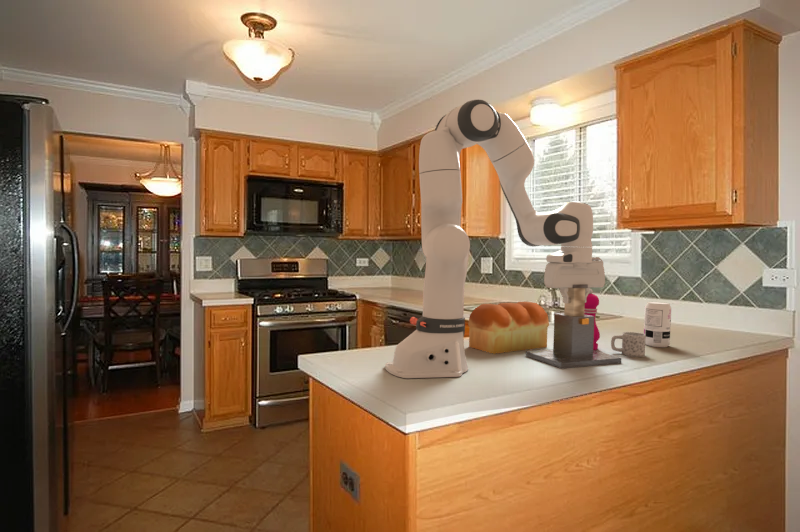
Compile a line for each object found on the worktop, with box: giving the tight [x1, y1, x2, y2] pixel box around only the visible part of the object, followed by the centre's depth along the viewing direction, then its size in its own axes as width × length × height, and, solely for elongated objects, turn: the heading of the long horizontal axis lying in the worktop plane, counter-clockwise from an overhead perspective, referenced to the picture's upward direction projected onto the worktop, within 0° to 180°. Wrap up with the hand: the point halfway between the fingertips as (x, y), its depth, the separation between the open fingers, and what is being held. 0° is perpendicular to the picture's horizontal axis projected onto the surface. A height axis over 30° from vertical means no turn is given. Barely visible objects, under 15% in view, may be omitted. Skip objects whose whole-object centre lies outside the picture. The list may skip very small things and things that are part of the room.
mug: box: [610, 331, 646, 358], centre depth 158 cm, size 10×7×7 cm
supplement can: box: [643, 301, 672, 348], centre depth 173 cm, size 8×8×15 cm
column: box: [563, 284, 588, 316], centre depth 148 cm, size 5×5×21 cm
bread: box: [467, 301, 550, 355], centre depth 165 cm, size 25×12×15 cm, turn 122°
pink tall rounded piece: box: [584, 288, 601, 351], centre depth 165 cm, size 7×7×20 cm
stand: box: [525, 312, 622, 369], centre depth 148 cm, size 22×16×14 cm
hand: (574, 302), depth 148 cm, fingers closed on column, 4 cm apart
